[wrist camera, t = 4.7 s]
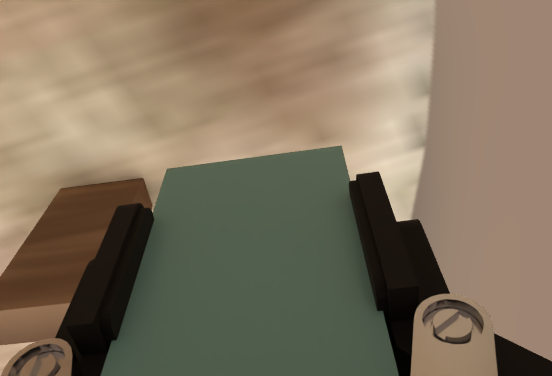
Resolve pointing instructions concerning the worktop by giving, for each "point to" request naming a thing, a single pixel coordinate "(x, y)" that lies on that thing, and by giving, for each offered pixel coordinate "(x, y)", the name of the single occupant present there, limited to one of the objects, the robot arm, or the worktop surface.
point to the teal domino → (254, 276)
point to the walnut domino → (59, 258)
